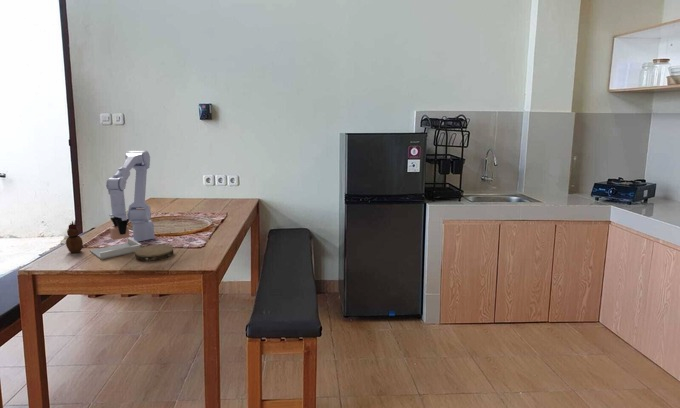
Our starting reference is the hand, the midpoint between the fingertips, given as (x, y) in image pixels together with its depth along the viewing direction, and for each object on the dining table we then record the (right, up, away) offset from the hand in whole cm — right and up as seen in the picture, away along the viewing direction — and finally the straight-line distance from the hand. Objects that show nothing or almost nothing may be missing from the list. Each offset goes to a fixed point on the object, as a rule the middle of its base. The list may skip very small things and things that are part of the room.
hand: (121, 233), depth 219 cm
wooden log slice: (+18, -10, -6) cm, 21 cm away
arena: (-3, -8, +1) cm, 9 cm away
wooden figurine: (-21, -9, +1) cm, 23 cm away
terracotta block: (0, -2, 0) cm, 2 cm away
